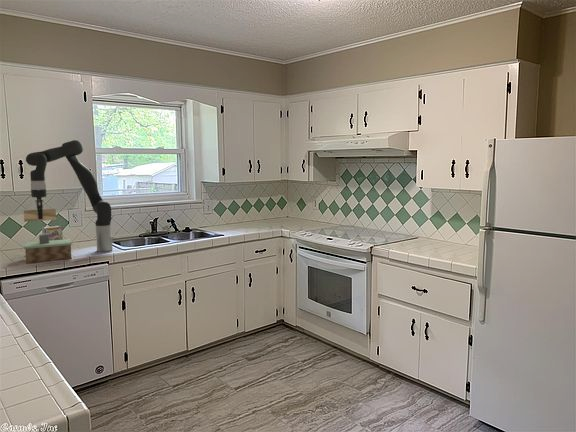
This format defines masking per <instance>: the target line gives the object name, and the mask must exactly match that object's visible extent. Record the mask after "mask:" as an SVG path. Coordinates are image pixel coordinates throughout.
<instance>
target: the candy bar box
mask: <svg viewBox="0 0 576 432" xmlns="http://www.w3.org/2000/svg"><path fill="white" fill-rule="evenodd" d="M41 233H42V234H41V235H46V234H48V235H49V241H51V240H64V239H63V227H62V226H61V225H55V226H45V227H41Z"/></svg>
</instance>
